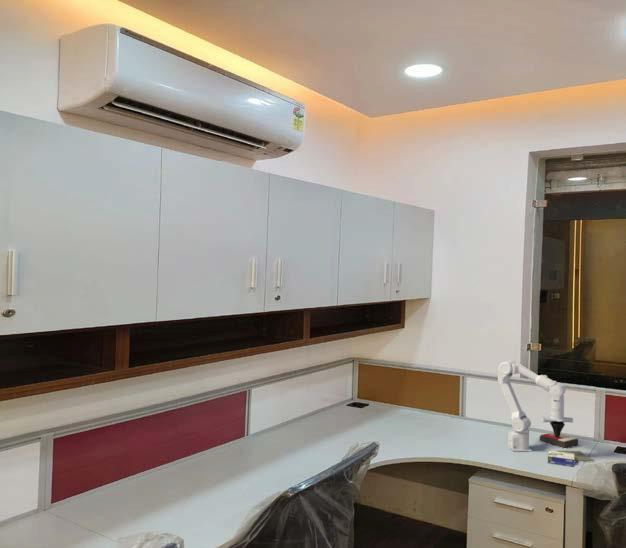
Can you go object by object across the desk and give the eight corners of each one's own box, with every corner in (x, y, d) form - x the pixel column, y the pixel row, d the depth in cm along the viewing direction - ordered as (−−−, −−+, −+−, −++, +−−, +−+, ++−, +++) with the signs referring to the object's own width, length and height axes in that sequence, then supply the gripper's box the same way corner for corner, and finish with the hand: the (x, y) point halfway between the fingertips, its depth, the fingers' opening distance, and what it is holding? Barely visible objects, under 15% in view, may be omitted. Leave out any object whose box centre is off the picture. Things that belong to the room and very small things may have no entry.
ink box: (574, 453, 265) (574, 461, 255) (574, 458, 265) (574, 466, 255) (548, 449, 270) (547, 458, 260) (548, 454, 270) (547, 463, 260)
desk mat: (571, 461, 262) (571, 460, 262) (557, 451, 276) (557, 450, 276) (594, 461, 262) (594, 460, 262) (579, 452, 276) (579, 450, 276)
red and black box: (552, 431, 300) (578, 437, 287) (553, 439, 300) (578, 445, 287) (539, 434, 295) (564, 440, 282) (539, 442, 294) (564, 449, 281)
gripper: (546, 410, 265) (545, 439, 265) (576, 411, 265) (576, 439, 265) (539, 407, 272) (539, 435, 272) (569, 407, 272) (568, 435, 272)
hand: (556, 437), depth 269 cm, fingers closed
